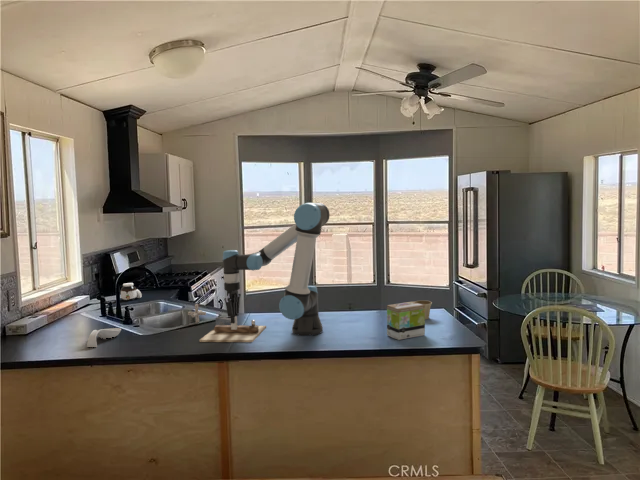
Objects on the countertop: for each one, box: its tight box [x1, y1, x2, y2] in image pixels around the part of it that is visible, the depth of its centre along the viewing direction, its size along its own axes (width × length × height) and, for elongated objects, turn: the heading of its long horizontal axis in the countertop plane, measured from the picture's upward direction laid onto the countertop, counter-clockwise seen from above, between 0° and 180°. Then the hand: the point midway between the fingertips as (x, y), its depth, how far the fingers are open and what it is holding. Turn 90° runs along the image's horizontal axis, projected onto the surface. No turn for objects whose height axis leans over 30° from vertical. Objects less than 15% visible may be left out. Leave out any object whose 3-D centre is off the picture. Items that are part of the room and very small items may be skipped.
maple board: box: [199, 325, 267, 343], centre depth 235 cm, size 26×25×1 cm
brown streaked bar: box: [213, 324, 259, 333], centre depth 236 cm, size 22×5×3 cm, turn 78°
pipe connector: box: [187, 304, 207, 324], centre depth 262 cm, size 10×10×10 cm
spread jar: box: [120, 282, 143, 302], centre depth 336 cm, size 12×11×12 cm
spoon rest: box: [86, 327, 122, 348], centre depth 234 cm, size 24×12×7 cm, turn 0°
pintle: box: [251, 319, 256, 326], centre depth 233 cm, size 2×2×3 cm
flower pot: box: [414, 300, 433, 320], centre depth 252 cm, size 9×9×9 cm
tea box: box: [386, 301, 426, 341], centre depth 221 cm, size 15×10×15 cm
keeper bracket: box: [215, 316, 231, 326], centre depth 245 cm, size 11×3×5 cm, turn 56°
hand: (234, 329), depth 233 cm, fingers closed
